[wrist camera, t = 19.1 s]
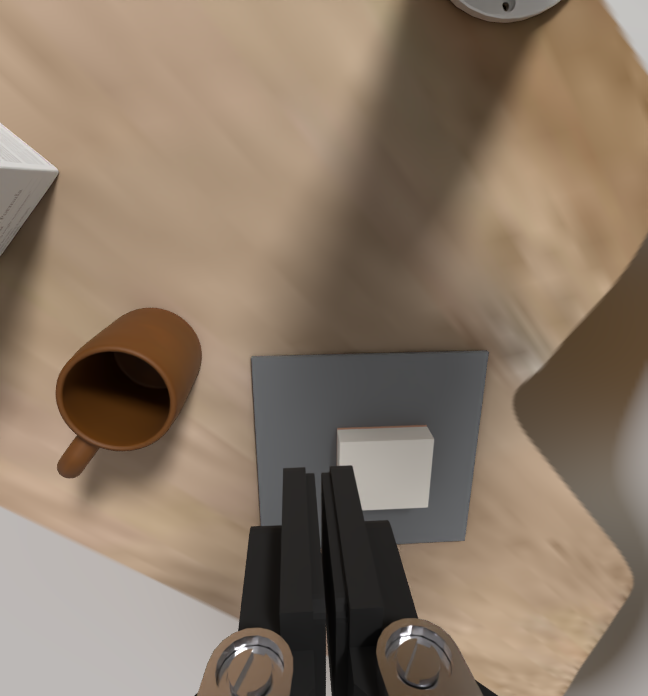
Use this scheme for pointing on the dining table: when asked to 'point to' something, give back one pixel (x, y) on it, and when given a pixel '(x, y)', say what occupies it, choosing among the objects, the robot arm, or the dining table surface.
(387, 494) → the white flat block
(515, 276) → the dining table surface
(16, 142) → the supplement box
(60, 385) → the mug
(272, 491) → the mat
